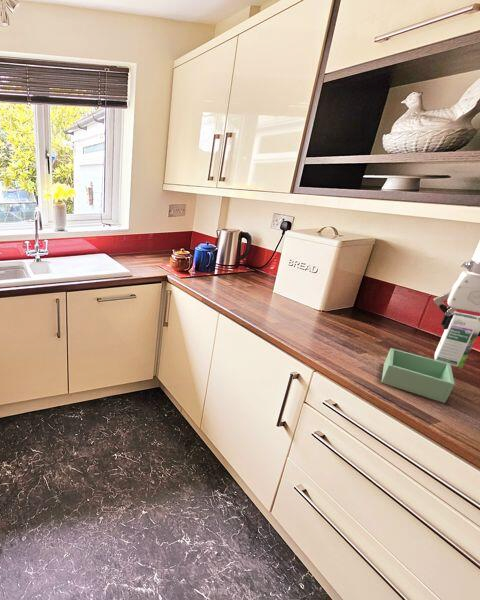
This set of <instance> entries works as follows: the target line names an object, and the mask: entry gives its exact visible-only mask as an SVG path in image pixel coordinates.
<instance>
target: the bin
mask: <svg viewBox="0 0 480 600" xmlns="http://www.w3.org/2000/svg"><path fill="white" fill-rule="evenodd" d="M453 373H454V372H453V369H452V365H451V364H448V363H445V362H441V361H437V360H434V358H430V357H426V356H423V355H419V354H416V353H415V354H414V353H412V352H408V351H403V350H401V349H397V348H392V347H390V349H389V351H388V353H387V356H386V358H385V361H384V363H383V368H382V376H381V383H382V384H384V385H386V386H387V385H388V386H391V387H393V388H397V389H400V390H404V391H406V392H410V393H413V394H415V395H419V396H421V397H425V398H428V399H430V400H434V401H438V402H440V403H444V404H446V402H447V400H448V398H449V396H450V394H451V393H452V391H453V390H454V387H455V379H454V374H453Z"/></svg>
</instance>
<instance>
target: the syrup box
mask: <svg viewBox="0 0 480 600" xmlns="http://www.w3.org/2000/svg"><path fill="white" fill-rule="evenodd" d="M479 332H480V315H475V314H469V313H463V312H458V311H455V312H454V313H452V320H451V322H450V324H449V327H448V329H444V331H443V333H442V335H441V338H440V340H439V343H438V345H437V347H436V349H435V351H434V358H433V359H434V360H437V361H441V362H445V363H448V364H451V367H452V366H453V367H456V368H458V369H463V367H464V365H465V363H466V361H467V359H468V356H469V354H470V352H471V350H472V349H473V346H474V344H475V342H476V340H477V338H478V337H479V336H478V334H479Z"/></svg>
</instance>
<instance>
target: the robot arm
mask: <svg viewBox="0 0 480 600" xmlns="http://www.w3.org/2000/svg"><path fill="white" fill-rule="evenodd" d="M460 268H465V269H466V270H463V271H462V272H461V273H460V274H459V275H458V276H457V279H456V280H455V282H454V284H452V287H451V289H450V291H449V292H446V293H444V294H441V295H439V296H436V297H434V298H433V303H435V305H436V306H437V307H438V308H439V309H440V311H442V313H443V317H442V319H441V322H440V325H441V326H442V328H443V330H445V329H448V327H449V324H450V322H451V320H452V313H454V312H457V310H463V311H468V312H472V313H479V314H480V240H479V241H478V244H477V245H476V248H475V251H474V253H473V256H472V258H471V259H470V260H468V261H462V262H461V264H460ZM444 301H447V302H446V303H447V305H446V304H445V303H444ZM477 337H480V332H479V334H478V336H477Z"/></svg>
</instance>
